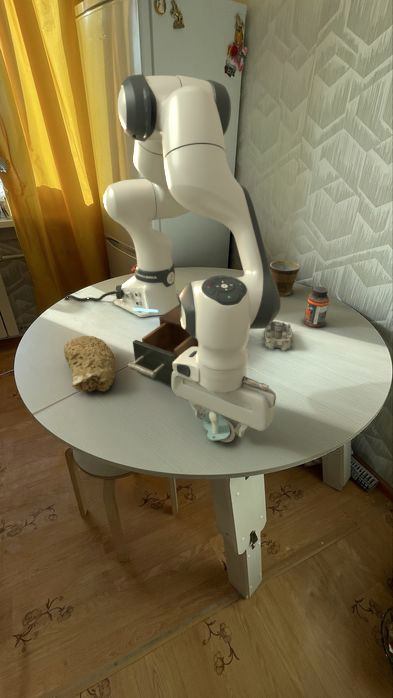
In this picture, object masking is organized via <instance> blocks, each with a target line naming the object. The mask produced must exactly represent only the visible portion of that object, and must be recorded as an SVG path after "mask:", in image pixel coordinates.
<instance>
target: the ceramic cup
mask: <svg viewBox="0 0 393 698" xmlns="http://www.w3.org/2000/svg"><path fill="white" fill-rule="evenodd" d="M269 267H270V270H271V273H272V276H273V278H274V281H275V283H276V286H277V289H278V292H279V296H280V297H281V296H283V297H286V296H289V295H291V294H292V290H293V288H294V285H295V282H296V279H297V277H298V275H299V272H300V268H301V266H300V264H299V263H297V262H295V261H291V260H282V259H280V260H274V261H272V262H270V264H269Z"/></svg>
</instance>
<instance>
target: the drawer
mask: <svg viewBox="0 0 393 698" xmlns="http://www.w3.org/2000/svg"><path fill="white" fill-rule="evenodd" d="M132 347H133V356H134V361H133V362H131V361H129V362H128V364H127V368H128V369H130V370H132V371H135V372H136V373H139V374H141V375H143V376H146V377H149V378H151V379H153V380H155V381H158V382H160V383H162V384H165V385H167V386H169V387H172V386H171V377H172V372H173V371H174V370H173V367H172V364H173V362H174V361H175V360H176V359H177V358H178V357H179V356H180V355H181V354H182V353H183V352H185V351H186V350H187V349H189V348H190V347H198V340H197V338H193V337H192V336H191V335H190V334H189V333H188V332H187V331H186V330H184V329H183V328H182V327H179V326H175V325H172V324H169V323H166V322H164V323H163V324H162V325H160V324H159V326H158V327H156V328H155V329H153V330H152V331H151V332H149V333H148V334H146V335H144V336H143V337H142V338H141V340H138V339H135V340H133V341H132Z"/></svg>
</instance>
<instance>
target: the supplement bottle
mask: <svg viewBox="0 0 393 698" xmlns="http://www.w3.org/2000/svg"><path fill="white" fill-rule="evenodd" d="M328 292H329V290H328V288H326V286H314V287H313V290H312V293H310V294H309V295H308V296H307V297H308V298H307V302H306V308H305V313H304V319H303V322H304V324H306V326H309V327H312V328H320V327H323V326H324V325H325V322H326V317H327V312H328V308H329V303H330V297H329V296H328Z"/></svg>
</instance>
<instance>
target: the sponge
mask: <svg viewBox="0 0 393 698" xmlns="http://www.w3.org/2000/svg"><path fill="white" fill-rule="evenodd" d="M63 353H64V358H65V360H66V363H67V364H68V366H69V368H70V370H71V372H72V374H71V383H72V384H71V385H72V387H73V388H74V389H75V390H76V391H79V392H80V393H82V392H93V391H96V390H97V391H100V392H104V393H105V392H106V391H109V389H110V388H111V386H112V385H113V383H114V380H115V377H116V373H115V369H116V356H115V353H114V352H113V351H112V350H111V348H110V346H109V345H108V344H107V343H106V342H105V341H104V340H103V339H101V338H98V337H96V336H94V335H81V336H78V337H76V338H74V339H71V340H69V341H68V342H66V344H65V345H64V348H63Z"/></svg>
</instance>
